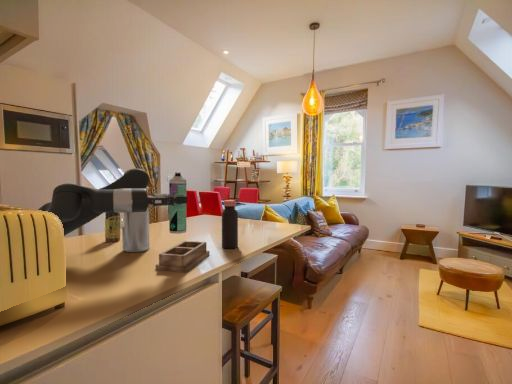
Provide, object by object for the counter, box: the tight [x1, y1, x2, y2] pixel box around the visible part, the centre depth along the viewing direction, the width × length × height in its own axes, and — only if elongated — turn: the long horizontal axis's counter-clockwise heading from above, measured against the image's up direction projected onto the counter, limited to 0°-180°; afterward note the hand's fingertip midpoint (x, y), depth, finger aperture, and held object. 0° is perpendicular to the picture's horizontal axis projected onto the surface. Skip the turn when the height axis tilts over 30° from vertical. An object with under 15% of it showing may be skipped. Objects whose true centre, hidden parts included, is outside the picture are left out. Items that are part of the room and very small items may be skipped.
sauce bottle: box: [104, 212, 121, 243], centre depth 122 cm, size 7×6×20 cm
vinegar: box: [221, 199, 239, 250], centre depth 112 cm, size 7×7×20 cm
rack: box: [155, 240, 210, 273], centre depth 94 cm, size 11×19×5 cm, turn 168°
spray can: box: [168, 172, 187, 235], centre depth 88 cm, size 6×6×20 cm
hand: (185, 199), depth 89 cm, fingers closed on spray can, 5 cm apart
